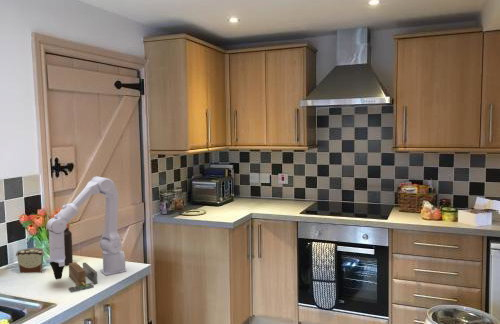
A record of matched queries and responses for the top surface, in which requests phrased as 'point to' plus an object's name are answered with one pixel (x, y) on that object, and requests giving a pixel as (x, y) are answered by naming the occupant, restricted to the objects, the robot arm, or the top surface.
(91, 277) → the gauge frame
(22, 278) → the top surface
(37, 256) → the food container
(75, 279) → the brown wooden block
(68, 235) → the bottle
